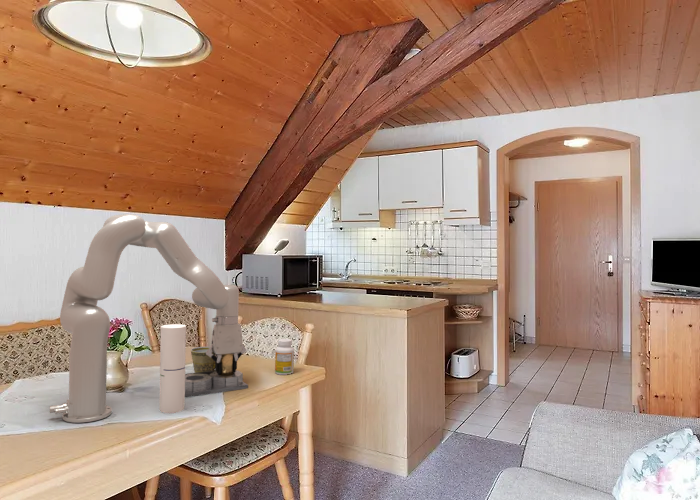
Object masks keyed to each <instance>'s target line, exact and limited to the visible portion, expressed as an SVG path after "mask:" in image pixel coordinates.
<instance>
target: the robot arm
mask: <svg viewBox="0 0 700 500" xmlns="http://www.w3.org/2000/svg"><path fill="white" fill-rule="evenodd" d="M128 245H130V246H134V247H142V248H150V249H151V248H152V249H156V250H157V252H159V255H161V257H162V258H163V260H164V261H165V262H166V263H167V265H168V266H169V267H170V269H171V270H172V271H173V273H175V274H176V275H178V277H181V278H182V279H184V280H186V281H188V282H189V283H191V284H193V286H194V287H195V289H193V291H192V294H191V300H192V301H193V303H194V304H195V305H197V306H198V307H200V308H201V307H202V308H205V309H210V310H211V309H212V310H215V317H213V318H212V319H211V321H212V323H215V324H214V325H213V329H212V334H211V343H210V346H209V347H210V348H209V349H208V350H207V352H206V355H208V356H209V357H211V358H212V359H213V360H214V361H215V371H216V373H218V374H221V365H222V364H221V363H220V360H221V356H222V355H223V354H233V372H234V373H235V372H236V370H237V368H238V361H239V358H241V357H242V355H244V354H245V353H246V352H247V349H246V347H245V346H244V344H243V332H242V325H241V324H240V323H239V302H240V299H239V298H240V297H239V296H240V295H239V294H240V291H239V287H238V286H237V285H233V284H223V282H222V281H221V280H220V278H219V277H218V276H217V275H216V273H214V271H213V270H211V269H210V267H208V266H207V265H206V264H205V263H204V262H203V261H202V260H201V259H199V258H198V257H197V256H196V254H195V253H194V252H193V250H192V249H191V248H190V246H189V245H188V243H187V242H186V240H185V239H184V237H183V236H182V235H181V233H180V231H179V230H178V229H177V228H176V227H175V226H174V225H173V223H170V222H166V221H147V220H144V218H142V216H140V215H137V214H132V213H126V214H115V215H111V216H109V217H108V218H107V219H105V221H104V223H103V226H102V227H101V229H100V230H98V231H97V233H96V234H95V235H94V237H93V238H92V239H91V242H90V245H89V246H88V249H87V255H86V258H85V260H84V261H85V262H84V265H83V266H81V267H78V268H76V269H75V270H73V272H72V273H71V274H70V276H69V278H68V280H67V282H66V286H65V291H64V295H63V299H62V300H63V301H62V304H61V309H60V315H59V316H60V317H59V322H60V325H61V327H62V328H63V330H65V331H66V332H67V333H69V334H71V340H70V342H71V343H70V345H69V355H68V356H69V357H68V362H69V363H68V364H69V365H68V366H69V369H68V379H69V380H68V398H67V399H66V402H62V404H55V405H50V406H49V414H52V413H55V415H58V414H61V416H62V417H61V418H62V420H63V421H65V422H67V423H73V424H74V423H75V424H77V423H78V424H79V423H90V422H95V421H96V422H97V421H99V420H102V419H105V418H108V417H109V416H110V415H111V414H112V413H113V408H112V407H111V406H110V405H107V368H108V367H107V365H108V362H107V361H108V360H107V359H108V343H109V342H108V341H109V335H110V330H111V329H110V328H111V321H110V317H109V315H108V313H107V312H106V310H104V309H103V308H102V307H101V306H98V301H103V300H105V299H107V298H109V296H110V295H111V294H112V292H113V289H114V285H115V280H116V275H117V270H118V265H119V262H120V260H121V259H120V258H121V255H122V252H123V251H124V250H125V249H126V247H128ZM212 352H214V353H215V356H214V355H213V354H212Z"/></svg>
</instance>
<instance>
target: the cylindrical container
mask: <svg viewBox="0 0 700 500" xmlns="http://www.w3.org/2000/svg"><path fill="white" fill-rule="evenodd" d="M186 340H187V325H185V324H181V323H180V324H179V323H172V324H164V325H160V351H159V353H160V355H159V359H160V360H159V403H158V404H159V405H158V406H159V408H158V409H159V410H160V411H161V412H160V411H159V412H160V413H162V412H164V413H163V414H176V412H177V413H180V412H183V411H184V410H185V407H186V406H185V405H186V404H185V402H186V401H185V398H186V397H185V374H186V352H187V351H186V348H187V347H186V346H187V344H186V342H187V341H186ZM182 410H183V411H182Z"/></svg>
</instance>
